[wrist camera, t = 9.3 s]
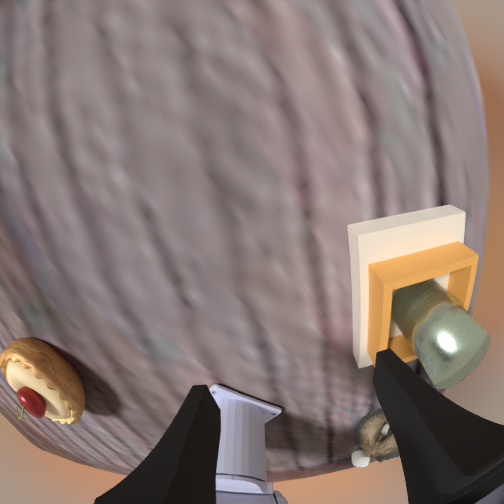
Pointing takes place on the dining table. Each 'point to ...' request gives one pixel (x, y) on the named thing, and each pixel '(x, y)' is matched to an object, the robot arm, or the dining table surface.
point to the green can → (439, 332)
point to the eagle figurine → (373, 440)
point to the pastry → (43, 380)
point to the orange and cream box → (404, 272)
